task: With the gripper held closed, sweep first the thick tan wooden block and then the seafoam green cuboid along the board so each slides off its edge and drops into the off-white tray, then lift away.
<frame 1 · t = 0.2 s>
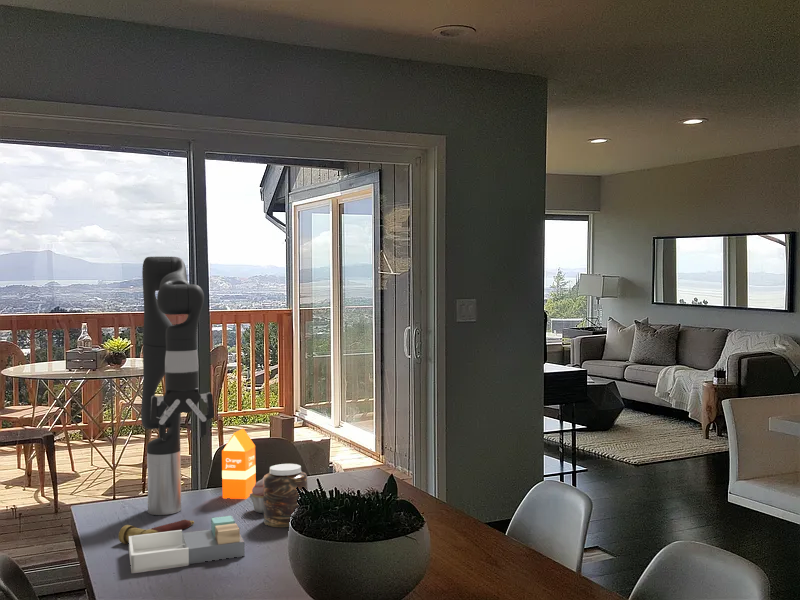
hand: (182, 438, 180), 29 cm above the table, tool pointing down, fingers open, 8 cm apart
cupcake: (265, 511, 221), on the table
seafoam green cuboid: (223, 531, 191), point 3 cm above the table, touching board
jar: (286, 522, 210), on the table
board: (212, 551, 186), on the table
gavel: (164, 537, 199), on the table
orange juice: (239, 495, 238), on the table
tray: (158, 558, 182), on the table
thick tan wooden block: (227, 539, 184), point 3 cm above the table, touching board
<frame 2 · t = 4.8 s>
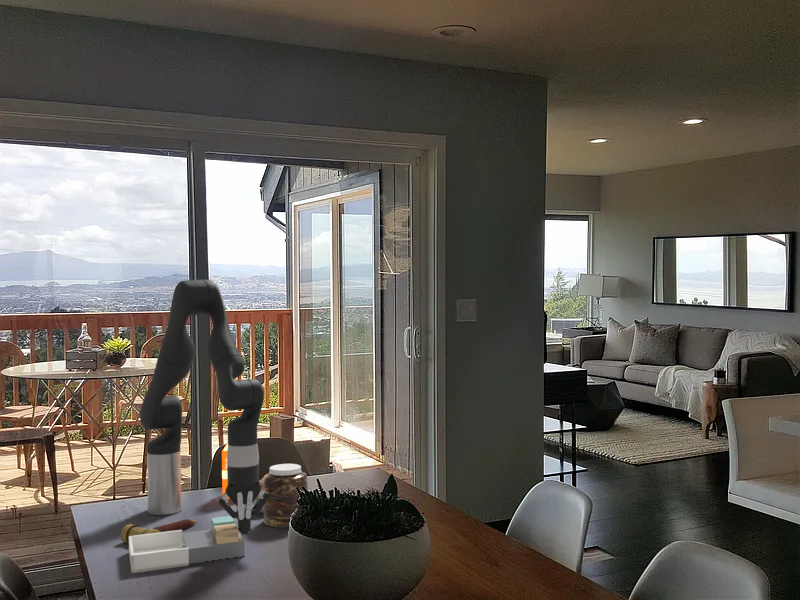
hand: (244, 533, 186), 4 cm above the table, tool pointing down, fingers closed
thick tan wooden block: (226, 540, 184), point 4 cm above the table
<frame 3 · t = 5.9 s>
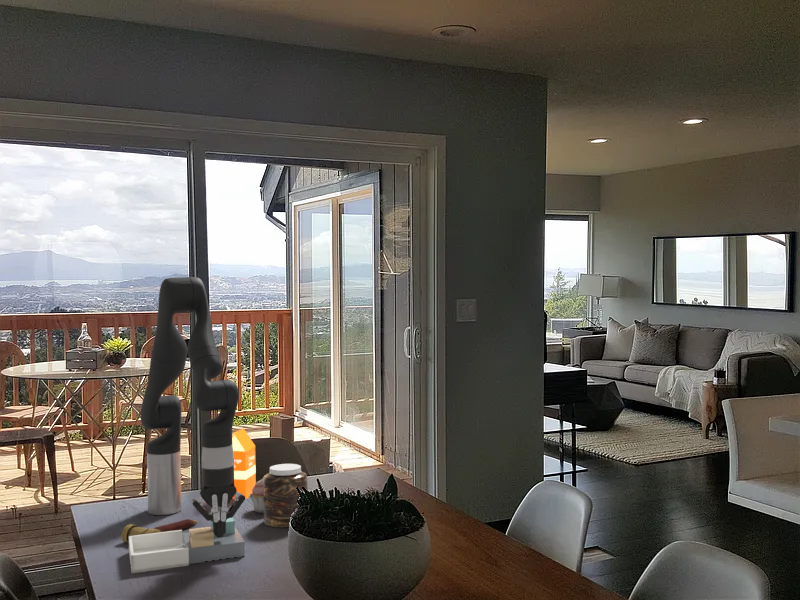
hand: (219, 536, 183), 5 cm above the table, tool pointing down, fingers closed
thick tan wooden block: (201, 543, 182), point 4 cm above the table, touching gripper
everything else where it was.
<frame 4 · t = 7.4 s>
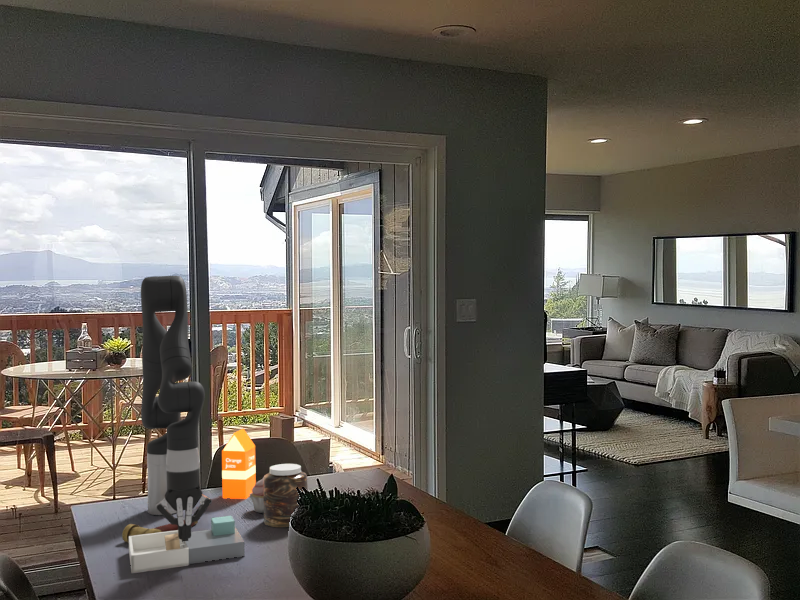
hand: (184, 540, 180), 5 cm above the table, tool pointing down, fingers closed
thick tan wooden block: (179, 546, 180), point 3 cm above the table, tilted 94°, touching gripper, tray
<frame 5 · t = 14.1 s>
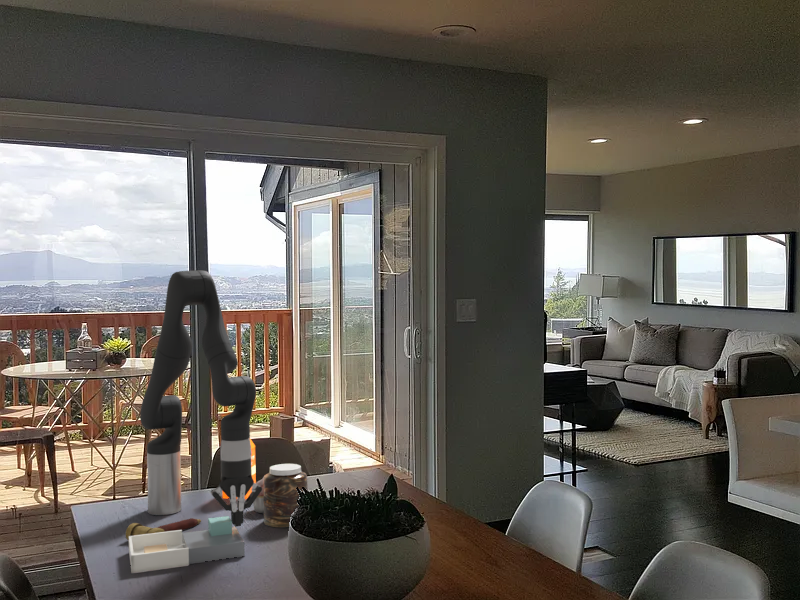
hand: (237, 525, 192), 5 cm above the table, tool pointing down, fingers closed
seafoam green cuboid: (220, 532, 190), point 3 cm above the table, touching board, gripper
thick tan wooden block: (155, 548, 178), point 4 cm above the table, tilted 180°, touching tray
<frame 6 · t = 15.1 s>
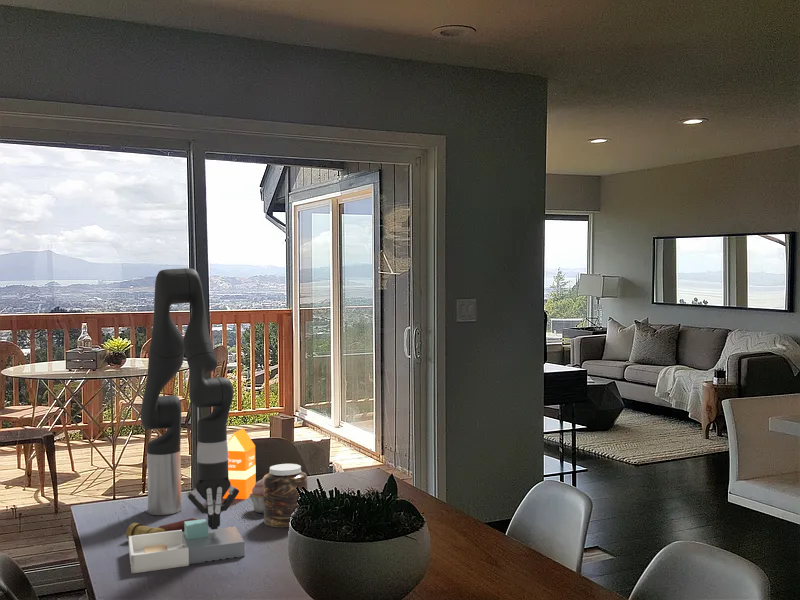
hand: (213, 528, 190), 5 cm above the table, tool pointing down, fingers closed
seafoam green cuboid: (196, 535, 188), point 4 cm above the table, touching gripper
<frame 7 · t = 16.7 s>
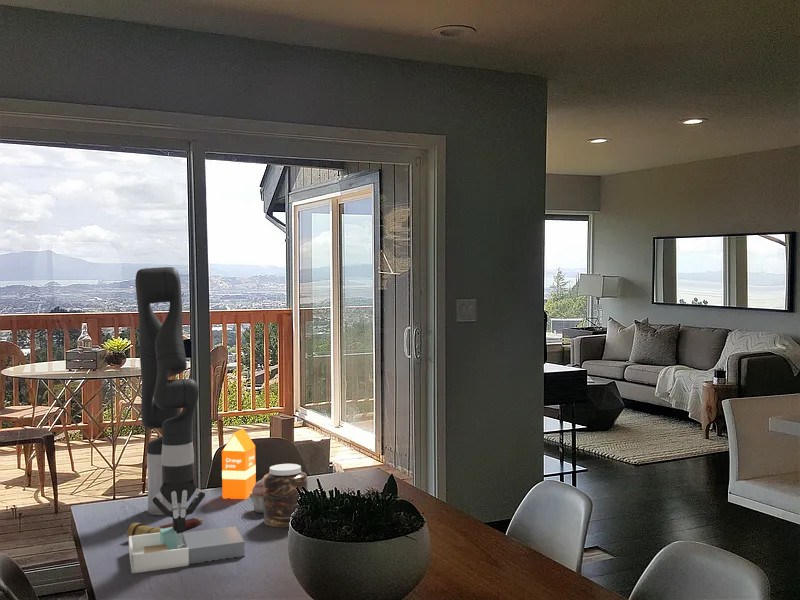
hand: (179, 532, 187), 5 cm above the table, tool pointing down, fingers closed
seafoam green cuboid: (174, 539, 185), point 3 cm above the table, tilted 94°, touching gripper, tray
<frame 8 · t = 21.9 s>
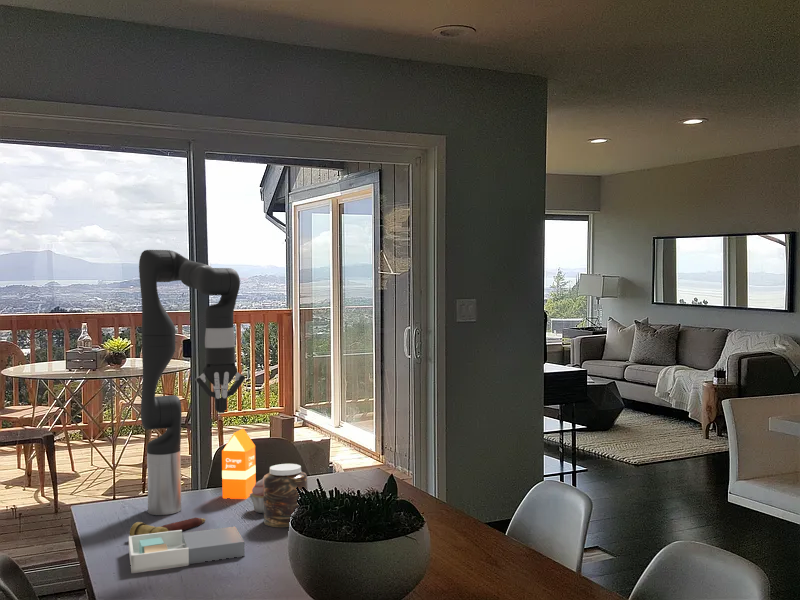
hand: (220, 412, 198), 32 cm above the table, tool pointing down, fingers closed
seafoam green cuboid: (151, 541, 183), point 4 cm above the table, tilted 180°, touching tray
at the end: seafoam green cuboid inside the target area (2.1 cm from its centre), point 3.6 cm above the table; thick tan wooden block inside the target area (3.3 cm from its centre), point 3.6 cm above the table; seafoam green cuboid touching tray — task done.
